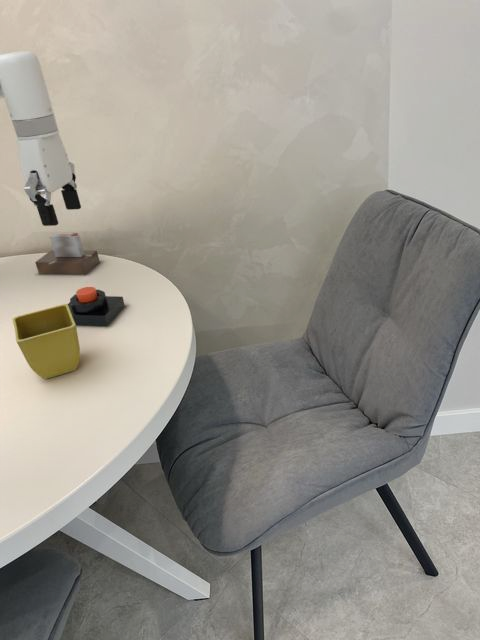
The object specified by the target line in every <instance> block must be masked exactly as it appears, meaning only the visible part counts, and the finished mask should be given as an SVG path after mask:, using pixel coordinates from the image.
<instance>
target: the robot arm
mask: <svg viewBox="0 0 480 640" xmlns="http://www.w3.org/2000/svg"><path fill="white" fill-rule="evenodd" d="M3 98H4V101H5V104H6V107H7V111H8V113H9V116H10V119H11V122H12V125H13V129H14V132H15V135H16V138H17V140H16V145H17V152H18V158H19V162H20V166H21V170H22V174H23V178H24V181H25V185H24V188H23V190H24V192H25V193H26V195H27V196H28V197H29V198H28V199H29V200H30V202H32V203H33V206H34V207H35V208H36V209H37V212H38V215H39V218H40V222H41V225H42V226H43V227H53V226H58V225H59V220H58V217H57V213H56V210H55V207H54V204H51V200H52V199H51V198H52V193H54V192H56V191H57V190H59V189H62V190H60V192H61V196H62V198H63V199H62V200H63V201H64V206H65V209H66V210H67V211H68V210H69V211H70V210H71V211H72V210H80V209H82V205H81V201H80V198H79V195H78V190H77V189H78V186H77V185H78V184H77V183H76V179H77V178H76V177H77V176H76V172H75V164H74V163H73V162H70V161H69V157H68V154H67V151H66V148H65V145H64V142H63V140H62V138H61V135H60V131H59V126H58V124H57V120H56V116H55V113H54V109H53V106H52V103H51V98H50V94H49V91H48V88H47V84H46V80H45V77H44V73H43V70H42V65H41V62H40V59H39V57H38V56H37V55H36V54H35V53H34V52H33V51H28V50H24V51H22V50H21V51H14V52H13V51H12V52H7V53H1V54H0V100H1V99H3ZM42 195H44V196H42Z"/></svg>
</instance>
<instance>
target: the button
mask: <svg viewBox="0 0 480 640" xmlns="http://www.w3.org/2000/svg"><path fill="white" fill-rule="evenodd" d="M96 290H97V289H96V287H95V286H85V287H81V288H79V289H77V290H76V292H75V294H77V298H78V301H79V302H89V301H92V300H94V299H96V298H97V297H98V296H97V292H96Z"/></svg>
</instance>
